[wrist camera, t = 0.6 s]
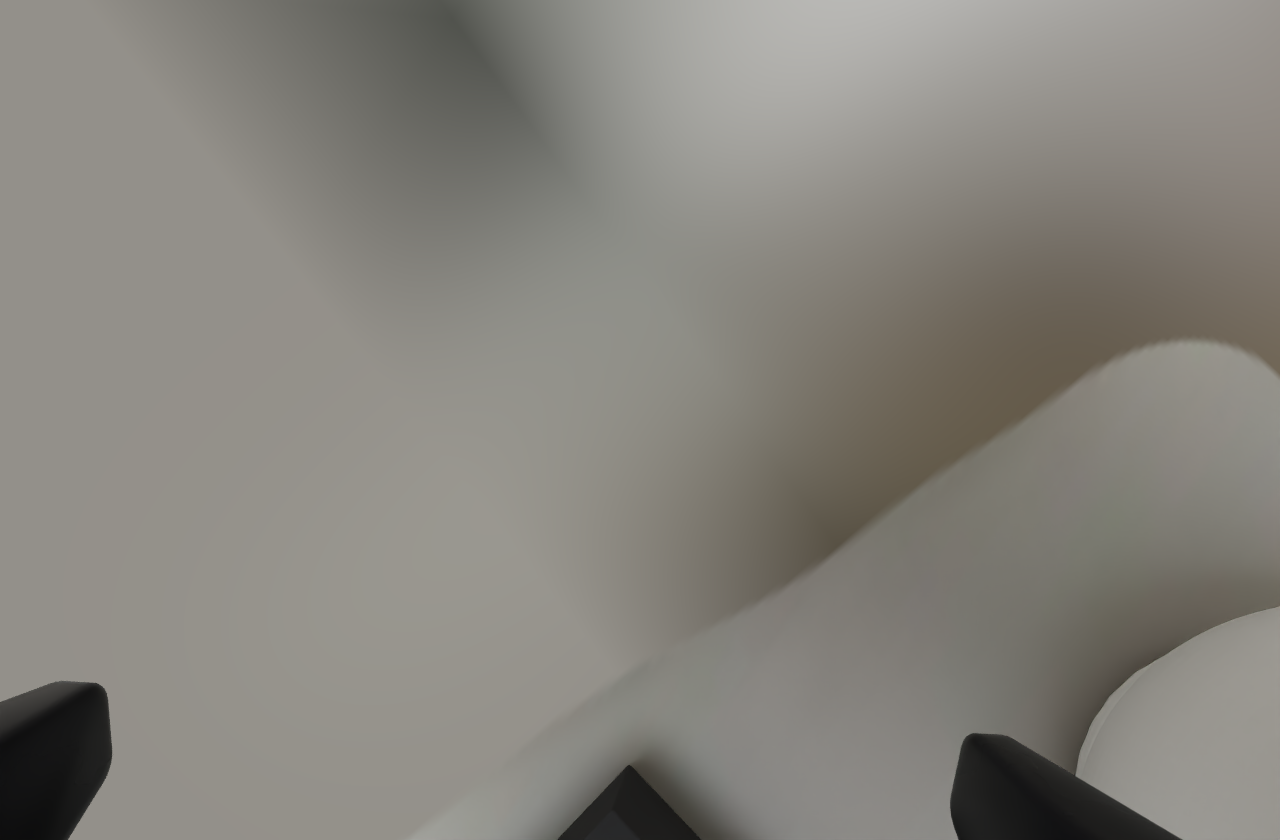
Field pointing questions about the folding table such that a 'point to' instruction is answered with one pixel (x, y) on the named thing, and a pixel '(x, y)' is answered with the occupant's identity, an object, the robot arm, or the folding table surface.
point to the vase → (1197, 735)
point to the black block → (629, 814)
